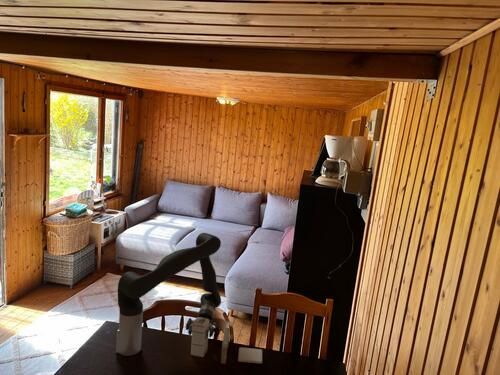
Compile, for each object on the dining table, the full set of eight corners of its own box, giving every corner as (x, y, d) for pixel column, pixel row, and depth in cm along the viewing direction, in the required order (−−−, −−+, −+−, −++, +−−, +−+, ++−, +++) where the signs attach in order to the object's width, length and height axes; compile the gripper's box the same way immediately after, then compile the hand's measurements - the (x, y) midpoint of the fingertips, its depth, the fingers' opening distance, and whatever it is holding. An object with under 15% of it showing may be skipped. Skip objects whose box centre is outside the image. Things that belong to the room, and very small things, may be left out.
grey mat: (238, 361, 149) (238, 359, 149) (239, 349, 157) (239, 347, 157) (261, 363, 149) (262, 361, 149) (261, 351, 157) (262, 349, 157)
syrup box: (203, 357, 149) (205, 325, 147) (190, 354, 150) (192, 322, 148) (207, 350, 155) (210, 318, 153) (194, 347, 156) (197, 316, 154)
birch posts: (220, 363, 147) (222, 347, 146) (223, 345, 159) (225, 330, 158) (225, 363, 146) (226, 347, 146) (228, 345, 159) (229, 331, 158)
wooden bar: (222, 347, 146) (222, 343, 146) (225, 330, 158) (225, 327, 158) (226, 347, 146) (227, 344, 146) (229, 331, 158) (229, 328, 158)
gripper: (191, 306, 167) (184, 324, 151) (221, 309, 166) (217, 327, 150) (190, 321, 168) (182, 341, 152) (220, 324, 167) (216, 344, 151)
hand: (200, 334), depth 151 cm, fingers open, 8 cm apart
